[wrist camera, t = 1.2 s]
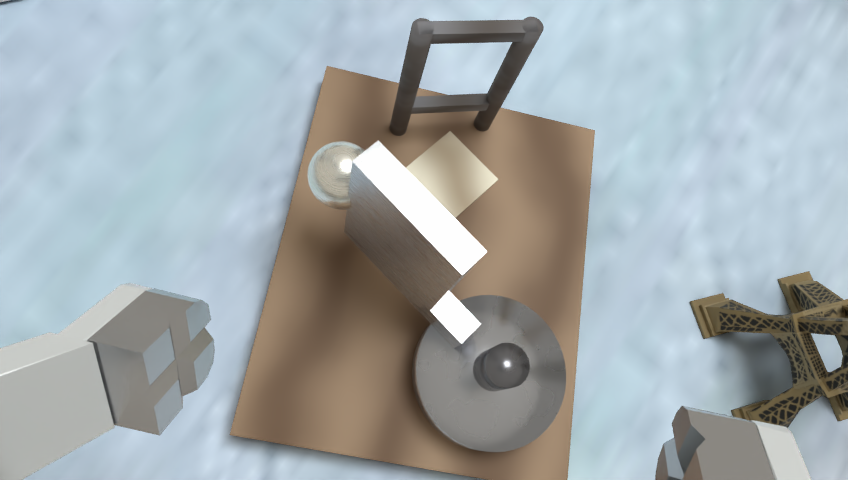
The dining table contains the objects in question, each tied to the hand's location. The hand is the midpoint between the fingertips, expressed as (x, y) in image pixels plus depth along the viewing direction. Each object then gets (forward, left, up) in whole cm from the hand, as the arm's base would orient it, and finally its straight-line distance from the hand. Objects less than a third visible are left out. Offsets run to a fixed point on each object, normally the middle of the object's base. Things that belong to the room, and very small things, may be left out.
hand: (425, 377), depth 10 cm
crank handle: (+3, +7, -26) cm, 27 cm away
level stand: (+3, +10, -28) cm, 30 cm away
